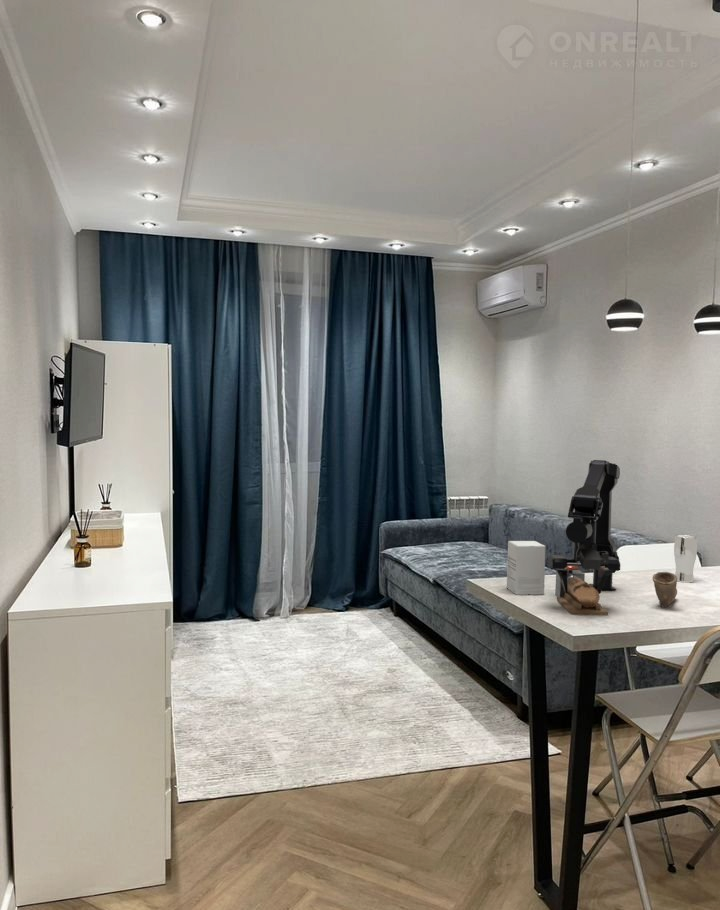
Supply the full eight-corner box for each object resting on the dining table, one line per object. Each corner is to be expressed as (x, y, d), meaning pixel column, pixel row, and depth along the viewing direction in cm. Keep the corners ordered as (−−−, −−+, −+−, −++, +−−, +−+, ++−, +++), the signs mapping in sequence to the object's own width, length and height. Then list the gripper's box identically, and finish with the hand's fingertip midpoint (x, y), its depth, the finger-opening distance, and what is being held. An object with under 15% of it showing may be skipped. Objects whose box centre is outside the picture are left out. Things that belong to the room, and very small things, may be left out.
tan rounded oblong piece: (565, 596, 201) (566, 576, 201) (585, 596, 201) (586, 577, 200) (578, 607, 189) (579, 586, 189) (599, 607, 189) (599, 587, 189)
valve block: (555, 594, 209) (556, 563, 209) (578, 595, 209) (579, 564, 209) (561, 600, 202) (563, 568, 202) (585, 601, 202) (587, 569, 202)
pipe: (684, 600, 207) (686, 567, 206) (673, 612, 193) (675, 576, 193) (661, 596, 210) (663, 564, 210) (649, 608, 197) (650, 573, 196)
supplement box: (533, 587, 218) (535, 540, 217) (544, 595, 209) (546, 545, 208) (505, 587, 216) (507, 540, 216) (515, 595, 208) (517, 545, 207)
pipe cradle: (557, 600, 202) (557, 592, 202) (591, 601, 202) (591, 593, 202) (571, 614, 188) (571, 604, 188) (608, 615, 188) (608, 605, 188)
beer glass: (670, 577, 237) (673, 534, 236) (693, 579, 235) (695, 535, 235) (674, 582, 231) (676, 537, 230) (697, 583, 229) (699, 538, 228)
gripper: (559, 542, 186) (556, 599, 187) (629, 544, 186) (626, 601, 187) (548, 535, 197) (546, 589, 198) (614, 536, 197) (611, 591, 198)
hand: (582, 593), depth 195 cm, fingers open, 9 cm apart
